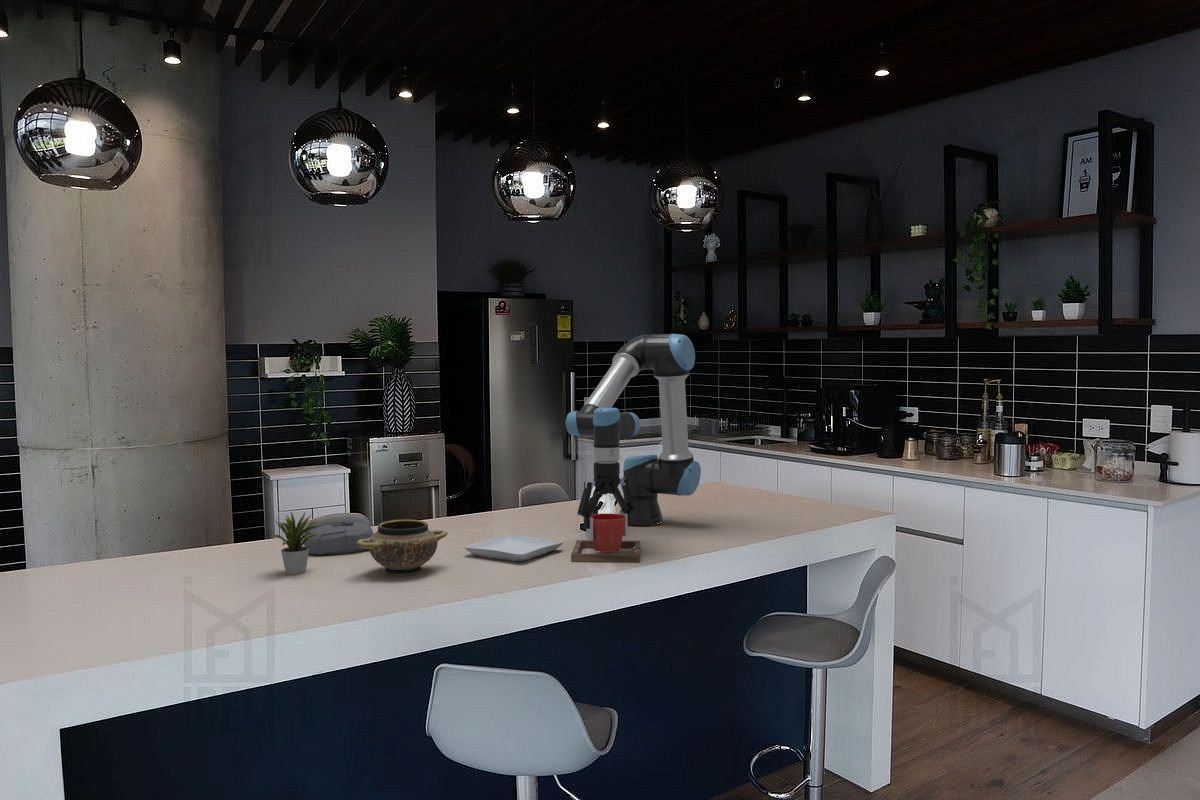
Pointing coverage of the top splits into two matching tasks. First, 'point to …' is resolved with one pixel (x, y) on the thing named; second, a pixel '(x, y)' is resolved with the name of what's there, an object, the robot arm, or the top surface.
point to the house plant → (295, 544)
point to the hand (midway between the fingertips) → (607, 537)
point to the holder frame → (605, 557)
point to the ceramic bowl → (402, 545)
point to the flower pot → (608, 532)
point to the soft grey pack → (338, 538)
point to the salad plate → (513, 547)
